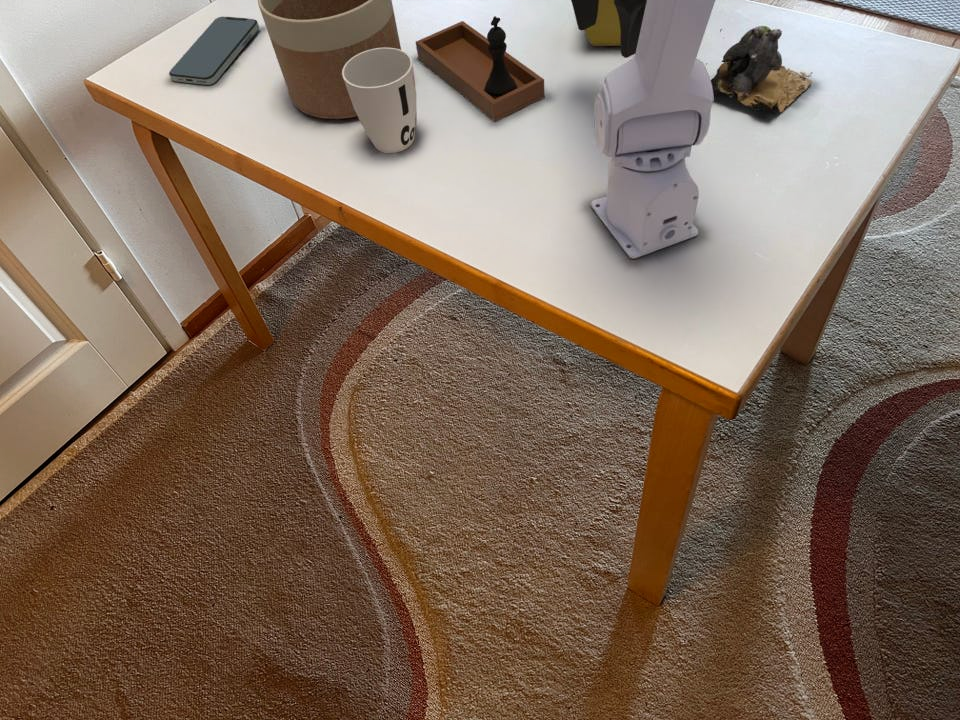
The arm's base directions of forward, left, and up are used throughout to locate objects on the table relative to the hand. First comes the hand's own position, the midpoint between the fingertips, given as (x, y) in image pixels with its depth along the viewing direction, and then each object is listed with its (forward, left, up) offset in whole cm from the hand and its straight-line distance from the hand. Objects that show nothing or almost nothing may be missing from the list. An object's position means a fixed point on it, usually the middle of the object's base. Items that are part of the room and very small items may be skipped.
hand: (608, 39), depth 82 cm
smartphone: (+40, +43, -10) cm, 59 cm away
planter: (+22, +27, -10) cm, 36 cm away
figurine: (-5, -18, -10) cm, 21 cm away
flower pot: (+15, -9, -10) cm, 19 cm away
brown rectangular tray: (+15, +11, -9) cm, 21 cm away
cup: (+8, +25, -10) cm, 28 cm away
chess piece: (+9, +10, -9) cm, 16 cm away
